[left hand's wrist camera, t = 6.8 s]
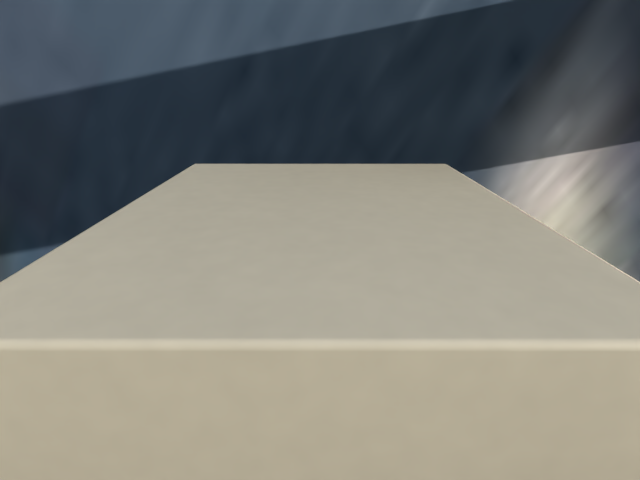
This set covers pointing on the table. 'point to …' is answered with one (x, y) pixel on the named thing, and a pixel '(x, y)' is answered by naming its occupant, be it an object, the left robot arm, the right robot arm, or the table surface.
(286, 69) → the table surface
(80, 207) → the table surface
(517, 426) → the box
